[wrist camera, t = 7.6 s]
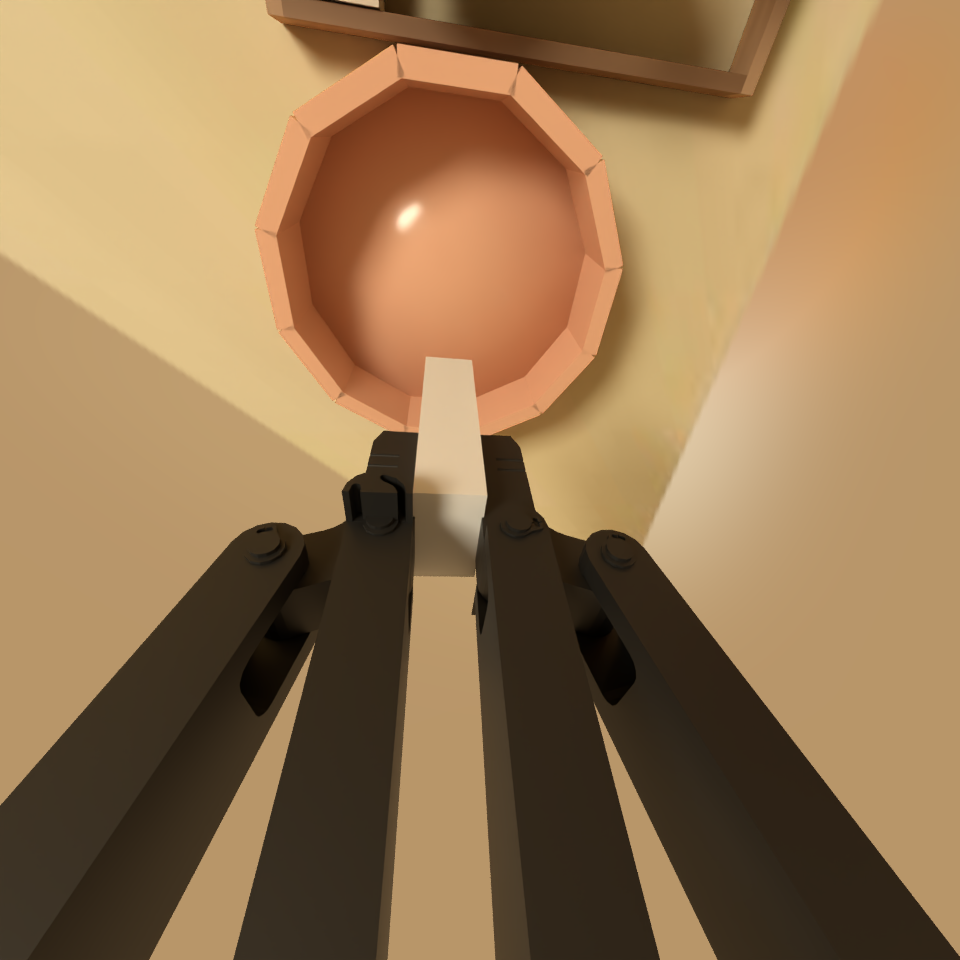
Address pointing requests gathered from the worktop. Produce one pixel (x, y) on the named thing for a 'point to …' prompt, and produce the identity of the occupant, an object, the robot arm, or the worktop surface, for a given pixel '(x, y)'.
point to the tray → (549, 45)
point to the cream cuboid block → (362, 3)
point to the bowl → (439, 237)
